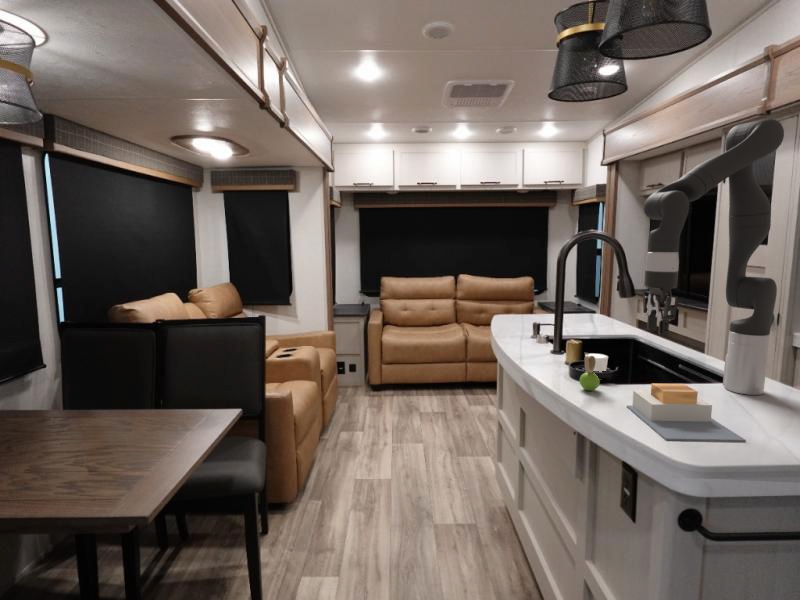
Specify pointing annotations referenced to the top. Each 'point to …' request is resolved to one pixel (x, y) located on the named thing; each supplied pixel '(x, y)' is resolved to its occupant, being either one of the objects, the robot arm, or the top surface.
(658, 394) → the orange flat block
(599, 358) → the white chunky block
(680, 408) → the white rectangular block
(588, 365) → the green maraca
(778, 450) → the top surface
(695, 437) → the mat
